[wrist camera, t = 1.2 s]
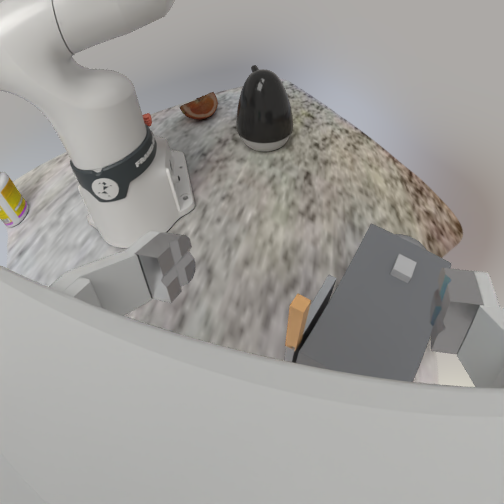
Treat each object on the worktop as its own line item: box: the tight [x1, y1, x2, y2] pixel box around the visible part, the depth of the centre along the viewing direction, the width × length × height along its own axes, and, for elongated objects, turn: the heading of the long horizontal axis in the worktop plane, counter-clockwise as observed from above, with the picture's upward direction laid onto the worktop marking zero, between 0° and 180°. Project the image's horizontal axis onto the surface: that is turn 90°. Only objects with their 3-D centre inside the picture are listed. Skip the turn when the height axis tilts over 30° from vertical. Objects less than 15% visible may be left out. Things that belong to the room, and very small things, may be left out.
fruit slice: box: [180, 92, 218, 120], centre depth 63 cm, size 8×7×5 cm
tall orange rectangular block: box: [284, 275, 336, 363], centre depth 28 cm, size 8×1×16 cm, turn 146°
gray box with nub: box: [296, 224, 451, 382], centre depth 31 cm, size 18×10×11 cm, turn 146°
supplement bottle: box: [0, 172, 28, 227], centre depth 47 cm, size 7×7×13 cm
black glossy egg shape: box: [236, 65, 293, 151], centre depth 51 cm, size 10×10×15 cm
